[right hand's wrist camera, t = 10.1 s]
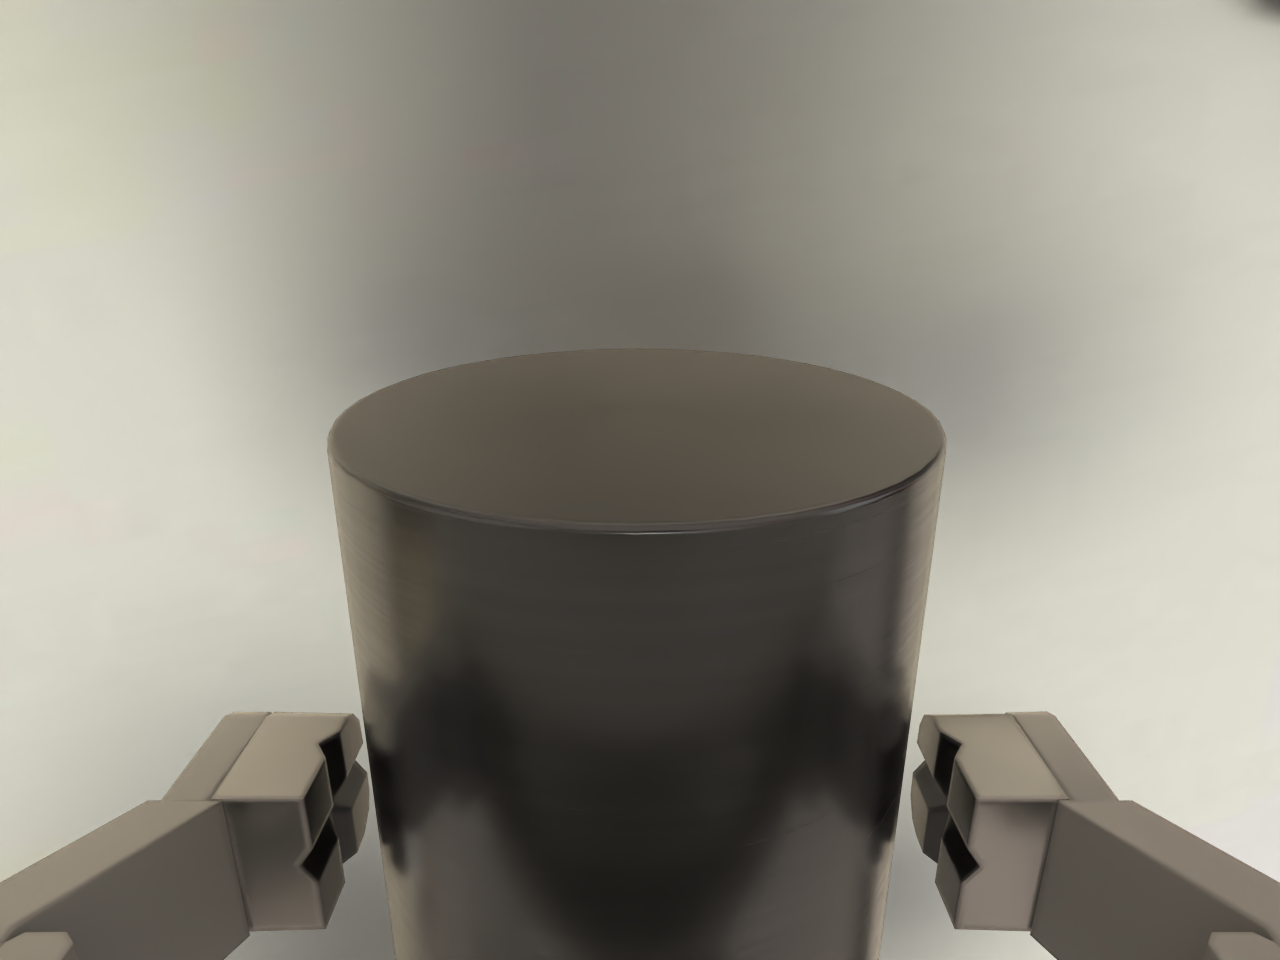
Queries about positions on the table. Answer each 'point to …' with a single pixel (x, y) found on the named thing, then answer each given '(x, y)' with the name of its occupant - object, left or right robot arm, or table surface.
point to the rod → (636, 650)
